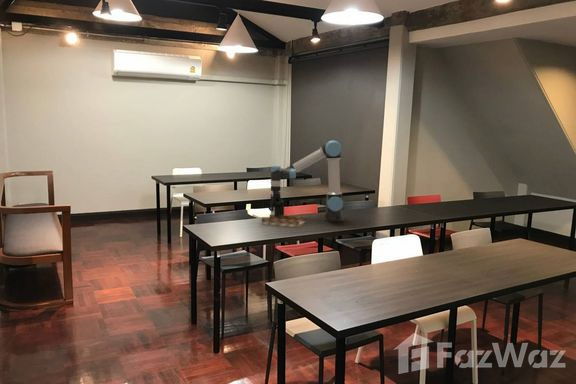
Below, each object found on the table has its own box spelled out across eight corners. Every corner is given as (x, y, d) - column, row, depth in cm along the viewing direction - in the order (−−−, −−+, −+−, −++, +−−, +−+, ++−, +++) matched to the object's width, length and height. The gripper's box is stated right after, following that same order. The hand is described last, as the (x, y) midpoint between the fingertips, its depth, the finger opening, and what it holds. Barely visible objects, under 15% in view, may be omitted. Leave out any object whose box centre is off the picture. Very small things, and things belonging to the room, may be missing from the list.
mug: (278, 217, 357) (278, 202, 355) (264, 215, 365) (264, 200, 364) (287, 215, 365) (287, 200, 364) (272, 213, 374) (272, 198, 372)
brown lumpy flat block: (305, 223, 365) (305, 217, 365) (298, 227, 350) (298, 220, 350) (270, 220, 376) (270, 214, 375) (262, 224, 361) (262, 217, 361)
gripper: (276, 183, 373) (276, 211, 377) (265, 187, 353) (265, 216, 356) (285, 184, 371) (285, 211, 374) (274, 187, 350) (274, 216, 353)
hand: (275, 214), depth 365 cm, fingers closed on mug, 10 cm apart
